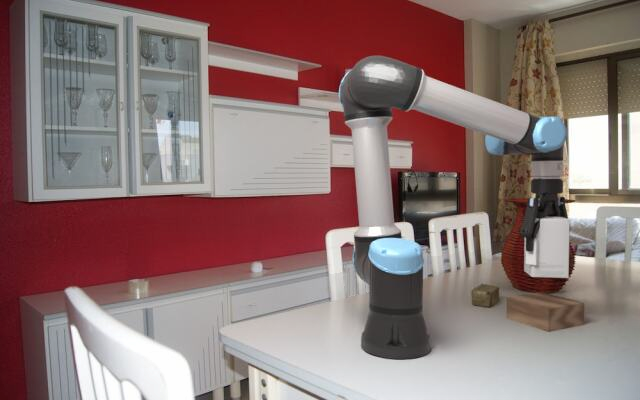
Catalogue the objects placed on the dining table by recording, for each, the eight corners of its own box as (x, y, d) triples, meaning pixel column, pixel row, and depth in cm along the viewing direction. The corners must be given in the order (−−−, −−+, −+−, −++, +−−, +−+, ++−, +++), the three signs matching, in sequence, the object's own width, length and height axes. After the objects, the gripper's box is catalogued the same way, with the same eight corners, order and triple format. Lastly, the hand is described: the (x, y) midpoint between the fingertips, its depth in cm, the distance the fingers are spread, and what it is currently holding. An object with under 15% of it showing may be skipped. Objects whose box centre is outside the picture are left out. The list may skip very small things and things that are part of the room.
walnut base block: (548, 333, 120) (548, 308, 120) (506, 319, 132) (506, 297, 132) (583, 326, 126) (584, 302, 126) (540, 313, 138) (541, 292, 137)
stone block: (470, 306, 145) (470, 289, 145) (480, 298, 155) (480, 282, 154) (490, 309, 142) (490, 291, 142) (499, 301, 152) (500, 284, 151)
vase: (556, 300, 150) (558, 201, 149) (486, 287, 168) (487, 199, 167) (587, 289, 166) (589, 199, 165) (519, 278, 183) (521, 197, 182)
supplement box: (569, 278, 123) (570, 218, 122) (531, 277, 125) (532, 218, 124) (559, 271, 132) (559, 215, 131) (523, 271, 134) (524, 215, 133)
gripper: (533, 178, 117) (532, 268, 118) (585, 177, 131) (584, 258, 132) (505, 178, 123) (504, 264, 124) (558, 177, 137) (556, 255, 138)
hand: (545, 261), depth 128 cm, fingers closed on supplement box, 12 cm apart
